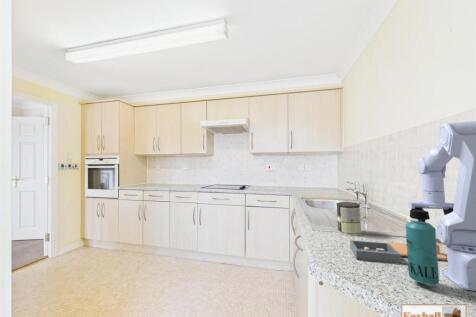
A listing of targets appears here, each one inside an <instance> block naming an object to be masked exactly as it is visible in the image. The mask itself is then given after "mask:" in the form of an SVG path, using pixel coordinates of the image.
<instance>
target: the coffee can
mask: <svg viewBox="0 0 476 317" xmlns="http://www.w3.org/2000/svg"><path fill="white" fill-rule="evenodd" d="M360 206H361V204H360V203H358V202H351V201H349V202H348V201H347V202H346V201H343V202H341V201H339V202H336V215H337V216H336V217H337V218H336V219H337V232H338V231H339V232H338V233H339V234H341V235H344V236H350V237H351V236H353V237H356V236H357V237H358V236H360V235H362V230H361V229H362V226H361V223H362V222H361V211H360V210H361V209H360V208H361V207H360Z"/></svg>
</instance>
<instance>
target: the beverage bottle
mask: <svg viewBox="0 0 476 317" xmlns="http://www.w3.org/2000/svg"><path fill="white" fill-rule="evenodd" d="M429 213H430V212H429V211H427V210H425V209H424V210H411V209H410V210H409V216H410V218H414V219H421V220H426V221H428V220H430V214H429ZM426 221H425V222H421V221H410V222H407V223H406V224H405V237H406V238H405V239H406V240H405V243H406V244H407V256H406V257H407V272H408V276H409V278H411V279H412V280H414V281H415V282H418V283H421V284H424V285H429V286H435V285H438V284H439V283H440V280H441V278H440V277H441V275H440V272H439V268H440V266H439V259H438V258H437V247H436V244H437V237H436V235H437V228H436V227H435V226H433V225H432V224H431V223H429V222H426Z"/></svg>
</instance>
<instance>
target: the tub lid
mask: <svg viewBox="0 0 476 317" xmlns="http://www.w3.org/2000/svg"><path fill="white" fill-rule="evenodd" d="M388 243H389V244H390V245H391V246H392V247H393V248H394V249H395V250H396V251H397V252H398V253H400V254H401V257H408V256H407V243H397V242H396V243H395V242H388ZM436 247H437V258H438V260H442V261H448V259H447V255H445V254H443V253H442V252H441V250H440V245H439V244H438V243H436Z"/></svg>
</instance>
